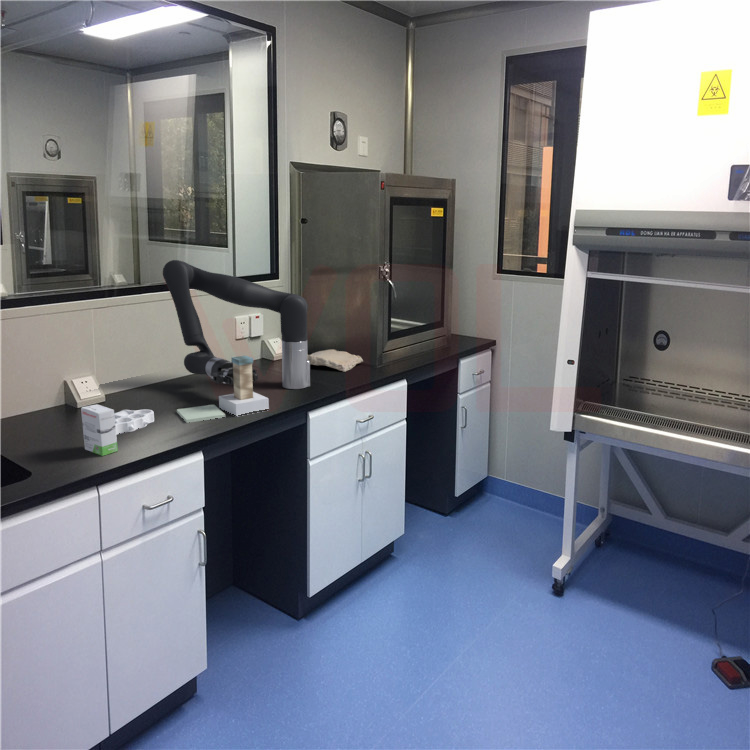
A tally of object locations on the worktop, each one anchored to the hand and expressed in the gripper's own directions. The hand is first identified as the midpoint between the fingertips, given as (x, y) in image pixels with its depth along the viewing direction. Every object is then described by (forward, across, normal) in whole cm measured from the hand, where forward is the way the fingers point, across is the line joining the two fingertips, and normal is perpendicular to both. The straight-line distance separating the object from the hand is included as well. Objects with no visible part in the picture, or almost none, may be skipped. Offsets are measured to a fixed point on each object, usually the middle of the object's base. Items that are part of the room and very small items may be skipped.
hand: (244, 379), depth 214 cm
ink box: (+10, -48, +10) cm, 51 cm away
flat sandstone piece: (-36, +58, +11) cm, 69 cm away
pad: (-4, -14, +10) cm, 17 cm away
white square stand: (-1, 0, +10) cm, 10 cm away
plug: (-1, 0, +10) cm, 10 cm away
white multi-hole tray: (-7, -36, +11) cm, 39 cm away
